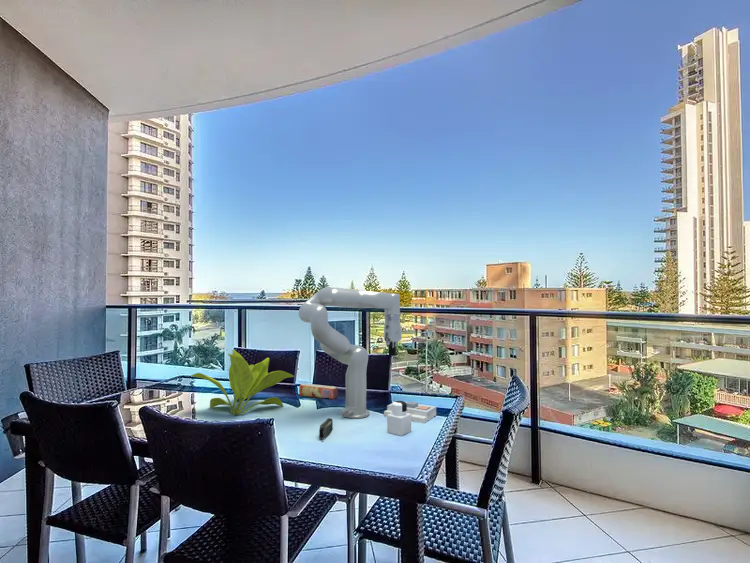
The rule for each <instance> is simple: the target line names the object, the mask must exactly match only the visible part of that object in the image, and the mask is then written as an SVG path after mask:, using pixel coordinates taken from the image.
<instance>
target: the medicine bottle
mask: <svg viewBox="0 0 750 563" xmlns="http://www.w3.org/2000/svg"><path fill="white" fill-rule="evenodd" d="M406 402H407V401H403V400H396V401H393V402H392V403H391V404H392V413H390V414H388V415H387V416H386V417H387V418H386V426H387V428H386V431H387V433H390V434H392V435H397V436H400V437H402V436H404V434H405V435H406V434H408V433H411V432H412V421H411V414H409V413H407V403H406Z"/></svg>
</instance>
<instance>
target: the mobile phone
mask: <svg viewBox="0 0 750 563" xmlns="http://www.w3.org/2000/svg"><path fill="white" fill-rule="evenodd" d="M333 421H334V420H333V418H330V417H328V418H326V419H325V420H324V422H322V423H321V424H319V429H318V430H319V433H318V435H319V439H321V441H322V440H325V439H326V438H327V437H328V436H329V435H330V434H331V432H332V431H333V428H334V427H333V425H334V424H333ZM327 435H328V436H327ZM326 436H327V437H326ZM325 437H326V438H325ZM324 438H325V439H324Z"/></svg>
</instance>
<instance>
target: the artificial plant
mask: <svg viewBox="0 0 750 563" xmlns="http://www.w3.org/2000/svg"><path fill="white" fill-rule="evenodd" d="M227 355H228V356H229V357H230V358H229V359H230V365H229V368H228V380H229V384H230V385H229V387H230V389H231V390H232V392H233V395H234V396H233V403H231V400H230V397H229V396H228V394H227V392H226V390H225V388H224V386H223V384H222V383H221V382H220V381H218V380H217V379H215V378H213V377H211V376H208V375H207V374H203V373H201V372H196V373H193V374H191V375H190V377H193V378H198V379H199V378H200V379H204V380H207V381H209V382H210V383H212V384H214V385H215V386H216V387H217V388H219V390H220V391H221V392H222V393H223V394H224V396H225V397H226V400H227V401H226V400H225V399H224V398H221V397H214V398H213V397H212V398H211V399H210V401H209V408H215V407H217V406H223V405H224V406H225V405H226V406H229V408H230V414H231V415H234V416H238V415H243V416H244V415H245V414H246V413H247V412H248V411H249V410H250V409H252V408H253V407H255V406H258V405H262V406H263V405H264V406H265V405H267V406H268V405H276V406H279V407H283V408H284V404H283V401H282V400H281V399H280V398H279V397H277V396H276V397H275V396H273V397H269V398H266V399H264V400H262V401H259V402H257V403H255V404H253V405H251V406H250V407H248V408H247V409H245V406H246V404H247V403H248V402H249V401H250V400H251V398H252V397H254V396H255V395H257V394H258V393H260V392H262V391H264V390H265V389H267V388H270V387H272V386H275V385H278V384H279V383H280V382H282V381H283V380H285V379H287V378H294V377H295V375H293V374H291V373H290V372H287V371H284V370H275V371H271V372H268V371H269V365H270V357H266V358H265V359H263V360H262V361H260V362H258V363H256V364H249V363H248V362H247V360H245V358H244V357H243V356H242V355H241V354H240V353H239V352H237V350H236V349H232V354H231V353H227ZM246 399H247V400H246ZM245 400H246V401H245ZM237 401H238V402H237ZM236 404H237V405H236ZM242 404H243V405H242ZM241 406H242V407H241ZM244 409H245V410H244ZM243 410H244V412H243Z"/></svg>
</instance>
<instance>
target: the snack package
mask: <svg viewBox="0 0 750 563" xmlns="http://www.w3.org/2000/svg"><path fill="white" fill-rule="evenodd" d="M298 388H299V389H298V393H299V394H298V395H299V396H300V397H308V398H316V397H317V398H318V399H325V398H329V399H328V400H335V398H336V397H337V398H338V396H339V389H338V386H333V385H324V384H323V385H322V384H314V383H313V384H312V383H306V382H303V383H301V384H300V385H299V387H298ZM337 398H336V399H337Z"/></svg>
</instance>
